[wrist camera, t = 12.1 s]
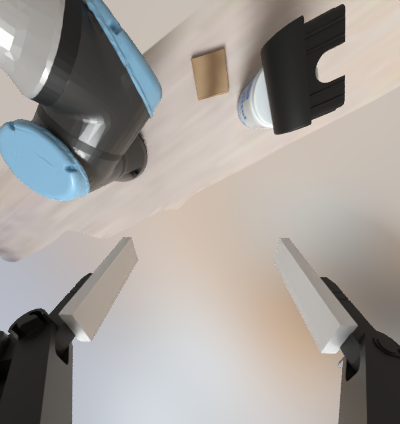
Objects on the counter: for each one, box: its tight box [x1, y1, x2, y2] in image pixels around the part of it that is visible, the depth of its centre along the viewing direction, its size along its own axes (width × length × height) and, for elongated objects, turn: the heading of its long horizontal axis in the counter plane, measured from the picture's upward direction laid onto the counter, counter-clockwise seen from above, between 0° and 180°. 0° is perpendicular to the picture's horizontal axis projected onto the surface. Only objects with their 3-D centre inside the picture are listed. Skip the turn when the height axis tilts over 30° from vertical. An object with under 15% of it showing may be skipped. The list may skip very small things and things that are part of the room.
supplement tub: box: [237, 66, 318, 130], centre depth 29 cm, size 10×10×15 cm
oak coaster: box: [191, 49, 229, 100], centre depth 33 cm, size 7×7×1 cm
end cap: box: [261, 4, 345, 135], centre depth 19 cm, size 10×7×7 cm
